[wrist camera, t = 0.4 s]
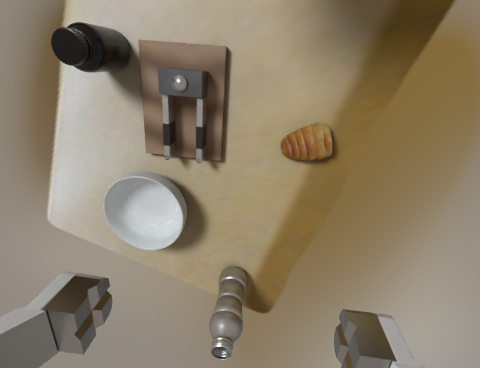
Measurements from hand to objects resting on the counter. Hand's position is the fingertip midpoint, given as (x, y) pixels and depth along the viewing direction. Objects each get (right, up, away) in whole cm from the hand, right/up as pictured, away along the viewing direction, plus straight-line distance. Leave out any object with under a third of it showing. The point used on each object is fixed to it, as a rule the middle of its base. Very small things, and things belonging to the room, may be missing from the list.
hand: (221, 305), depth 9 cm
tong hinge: (-9, +22, +38) cm, 45 cm away
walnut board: (-10, +19, +41) cm, 46 cm away
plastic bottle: (-1, -17, +56) cm, 59 cm away
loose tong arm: (-6, +15, +41) cm, 44 cm away
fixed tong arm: (-12, +15, +41) cm, 46 cm away
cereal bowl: (-18, +1, +50) cm, 53 cm away
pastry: (+14, +12, +42) cm, 46 cm away
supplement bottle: (-22, +28, +39) cm, 53 cm away
